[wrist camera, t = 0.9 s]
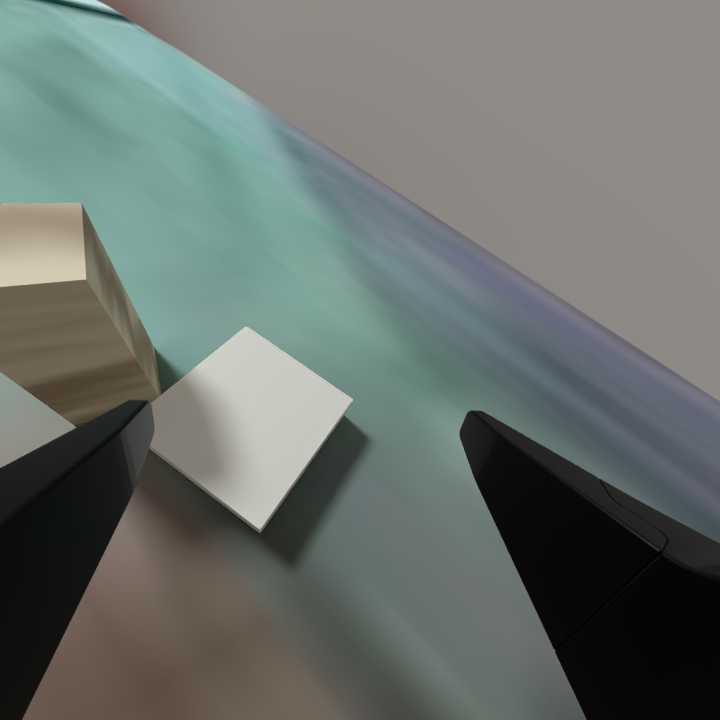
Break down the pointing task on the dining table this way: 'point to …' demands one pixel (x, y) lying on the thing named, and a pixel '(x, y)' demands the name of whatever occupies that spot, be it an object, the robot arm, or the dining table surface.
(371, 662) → the dining table surface
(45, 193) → the dining table surface
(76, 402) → the maple pillar block
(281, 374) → the off-white base block
